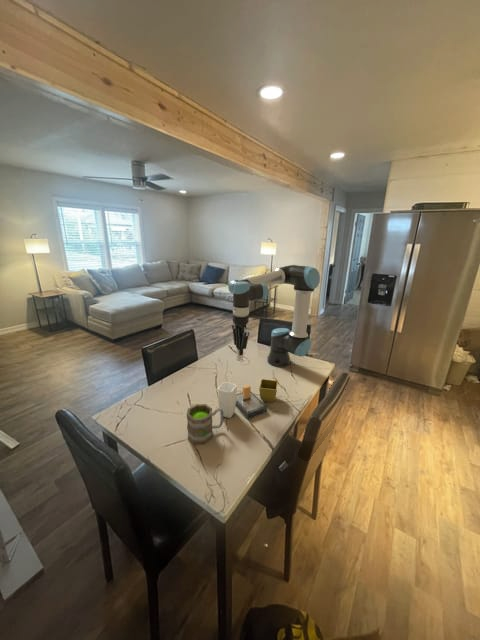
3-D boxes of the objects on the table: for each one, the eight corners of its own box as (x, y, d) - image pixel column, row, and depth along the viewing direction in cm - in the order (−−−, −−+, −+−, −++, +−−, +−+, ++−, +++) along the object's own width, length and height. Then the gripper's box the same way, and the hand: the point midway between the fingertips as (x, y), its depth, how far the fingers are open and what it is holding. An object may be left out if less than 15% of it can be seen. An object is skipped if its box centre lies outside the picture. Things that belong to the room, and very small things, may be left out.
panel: (249, 394, 139) (249, 389, 138) (267, 411, 126) (267, 406, 125) (231, 401, 133) (231, 395, 132) (247, 419, 120) (248, 413, 119)
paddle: (249, 396, 132) (249, 384, 130) (250, 397, 131) (251, 386, 129) (242, 399, 130) (242, 387, 128) (243, 400, 129) (243, 388, 127)
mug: (190, 448, 103) (189, 423, 100) (184, 430, 113) (183, 407, 109) (227, 437, 110) (227, 413, 106) (219, 421, 119) (219, 398, 115)
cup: (216, 416, 122) (216, 388, 117) (223, 407, 128) (223, 381, 124) (230, 421, 119) (231, 392, 115) (237, 411, 126) (237, 384, 121)
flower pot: (275, 405, 131) (276, 390, 128) (258, 403, 132) (259, 387, 130) (276, 395, 139) (278, 380, 136) (260, 393, 141) (261, 378, 138)
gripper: (227, 312, 126) (226, 356, 134) (241, 319, 116) (239, 367, 123) (240, 310, 130) (239, 353, 137) (255, 317, 120) (253, 363, 127)
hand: (239, 360), depth 130 cm, fingers closed
